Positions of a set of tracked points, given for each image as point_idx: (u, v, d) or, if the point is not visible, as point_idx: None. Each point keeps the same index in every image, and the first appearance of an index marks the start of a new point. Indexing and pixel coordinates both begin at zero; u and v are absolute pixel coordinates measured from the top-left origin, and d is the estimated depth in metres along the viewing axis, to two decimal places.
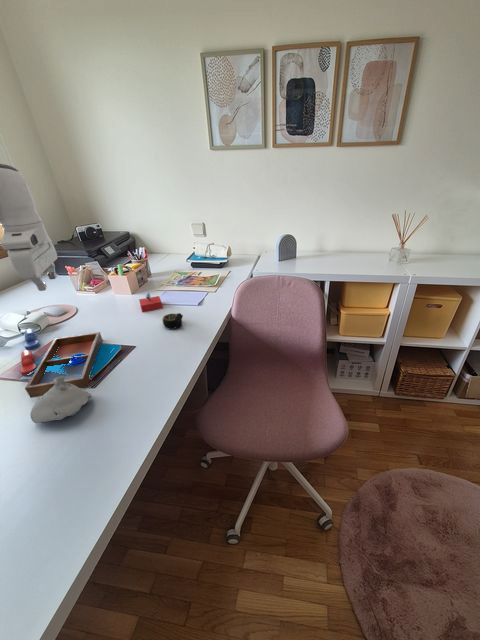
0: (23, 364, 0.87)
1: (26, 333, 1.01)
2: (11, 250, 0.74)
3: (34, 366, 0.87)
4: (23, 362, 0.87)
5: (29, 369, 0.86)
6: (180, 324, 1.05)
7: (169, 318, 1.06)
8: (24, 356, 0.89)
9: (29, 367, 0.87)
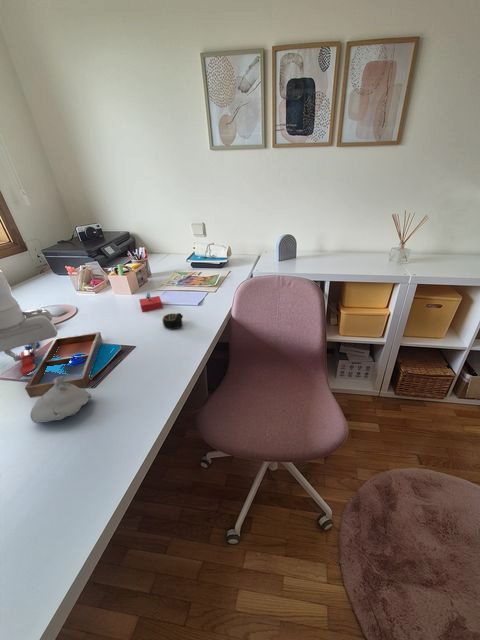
0: (23, 364, 0.87)
1: None
2: None
3: (34, 366, 0.87)
4: (23, 362, 0.87)
5: (29, 369, 0.86)
6: (180, 324, 1.05)
7: (169, 318, 1.06)
8: (24, 356, 0.89)
9: (29, 367, 0.87)
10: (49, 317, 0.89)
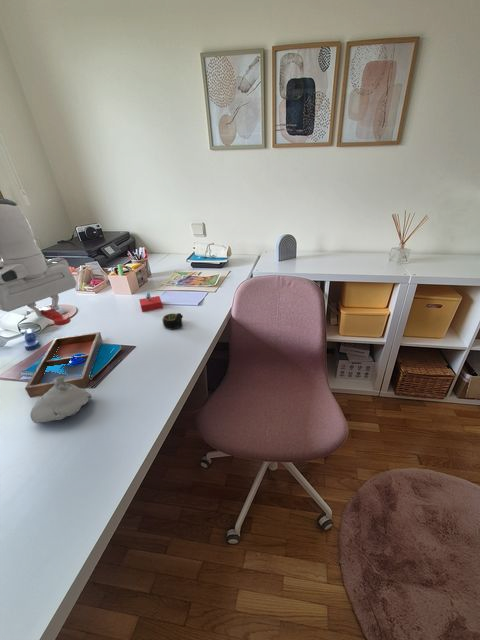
0: (53, 316, 0.85)
1: (26, 333, 1.01)
2: None
3: (67, 315, 0.86)
4: (52, 314, 0.85)
5: (64, 318, 0.84)
6: (180, 324, 1.05)
7: (169, 318, 1.06)
8: (48, 310, 0.86)
9: (62, 317, 0.85)
10: (67, 266, 0.88)
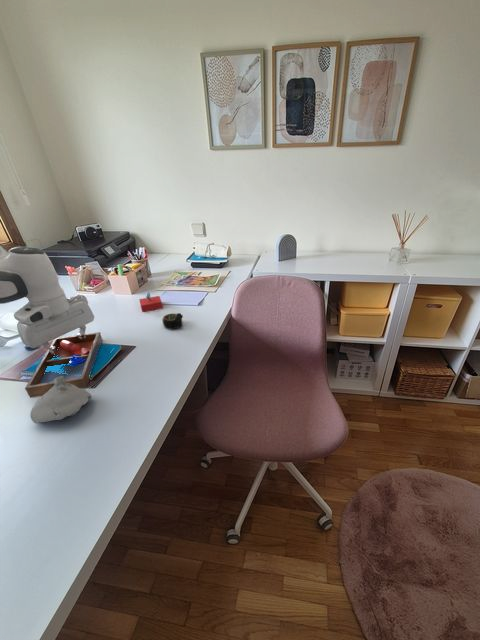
0: (74, 350, 0.92)
1: None
2: (20, 321, 0.82)
3: (86, 349, 0.93)
4: (73, 348, 0.92)
5: (84, 352, 0.92)
6: (180, 324, 1.05)
7: (169, 318, 1.06)
8: (69, 344, 0.93)
9: (82, 350, 0.92)
10: (86, 302, 0.95)
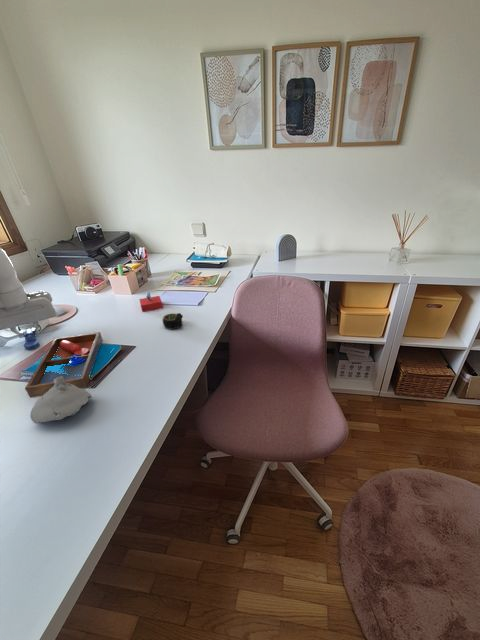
0: (74, 350, 0.92)
1: (26, 333, 1.01)
2: None
3: (86, 349, 0.93)
4: (73, 348, 0.92)
5: (84, 352, 0.92)
6: (180, 324, 1.05)
7: (169, 318, 1.06)
8: (69, 344, 0.93)
9: (82, 350, 0.92)
10: (50, 299, 1.00)
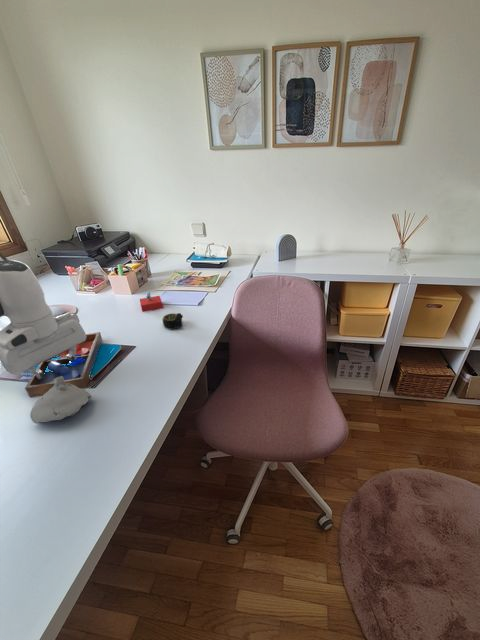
0: None
1: (55, 366, 0.84)
2: None
3: (86, 349, 0.93)
4: None
5: (84, 352, 0.92)
6: (180, 324, 1.05)
7: (169, 318, 1.06)
8: None
9: (82, 350, 0.92)
10: (77, 320, 0.85)
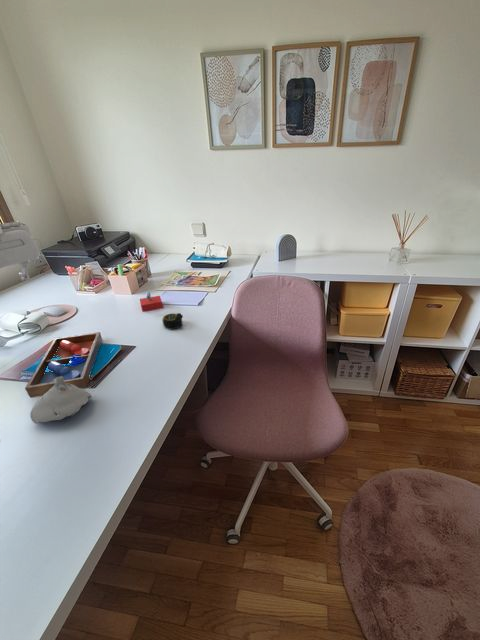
0: (74, 350, 0.92)
1: (55, 366, 0.84)
2: None
3: (86, 349, 0.93)
4: (73, 348, 0.92)
5: (84, 352, 0.92)
6: (180, 324, 1.05)
7: (169, 318, 1.06)
8: (69, 344, 0.93)
9: (82, 350, 0.92)
10: (28, 233, 0.77)
